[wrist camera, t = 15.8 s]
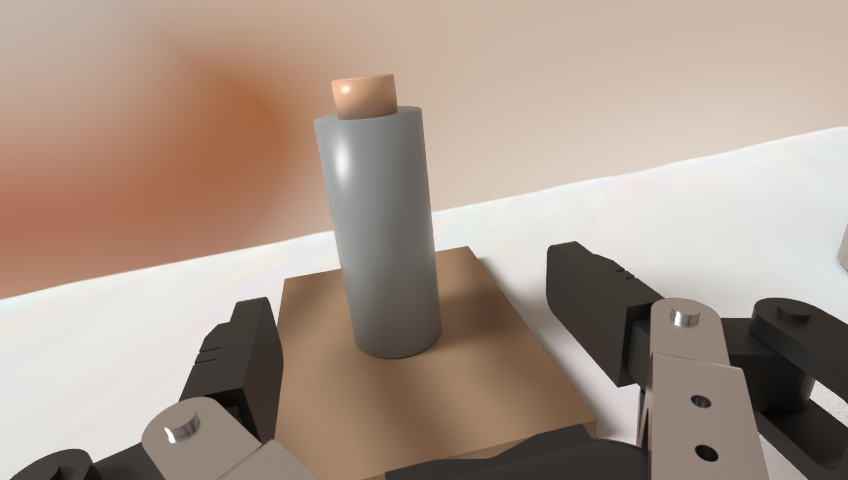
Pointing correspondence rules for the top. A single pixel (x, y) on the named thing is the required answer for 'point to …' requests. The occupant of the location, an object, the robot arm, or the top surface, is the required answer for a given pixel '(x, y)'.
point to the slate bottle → (381, 216)
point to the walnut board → (414, 380)
